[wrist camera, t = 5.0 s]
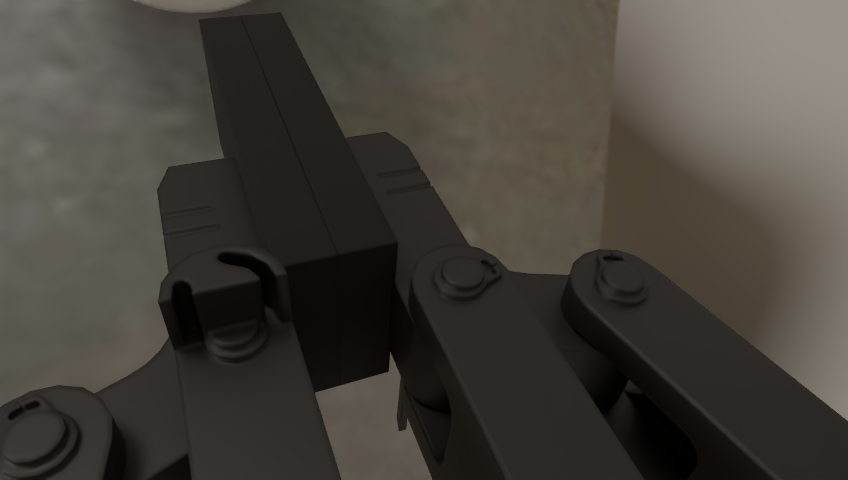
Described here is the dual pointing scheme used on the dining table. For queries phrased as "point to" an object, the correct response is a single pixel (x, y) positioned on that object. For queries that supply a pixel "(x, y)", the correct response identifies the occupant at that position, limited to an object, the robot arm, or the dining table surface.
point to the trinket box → (192, 5)
